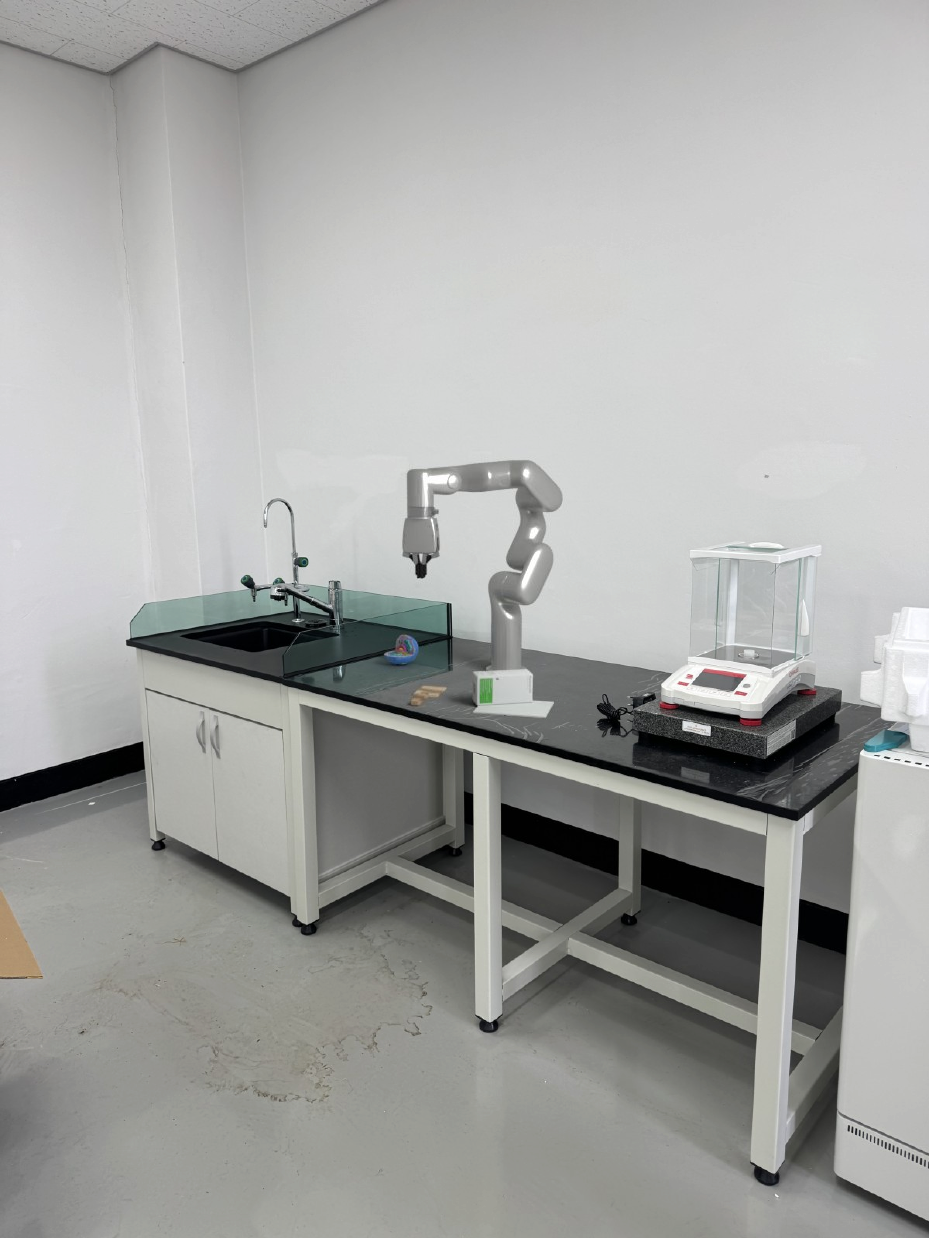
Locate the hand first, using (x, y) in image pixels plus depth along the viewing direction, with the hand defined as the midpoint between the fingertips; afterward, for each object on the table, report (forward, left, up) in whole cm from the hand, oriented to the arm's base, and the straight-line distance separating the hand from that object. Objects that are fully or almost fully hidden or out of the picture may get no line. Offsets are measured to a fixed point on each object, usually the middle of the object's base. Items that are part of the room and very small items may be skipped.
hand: (421, 577), depth 248 cm
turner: (+9, +4, -32) cm, 34 cm away
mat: (+16, +30, -32) cm, 47 cm away
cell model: (-27, -15, -32) cm, 45 cm away
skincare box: (+15, +19, -28) cm, 37 cm away
